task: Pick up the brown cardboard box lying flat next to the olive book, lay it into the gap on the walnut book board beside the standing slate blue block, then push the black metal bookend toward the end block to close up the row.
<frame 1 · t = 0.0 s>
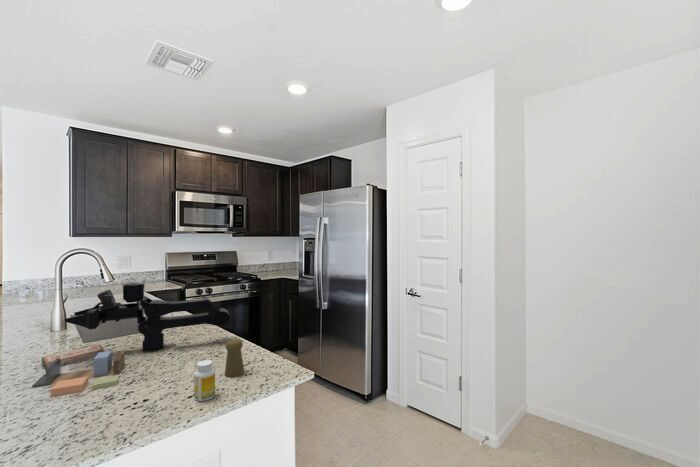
hand: (70, 317, 114), 17 cm above the countertop, tool horizontal, fingers open, 9 cm apart
bookend: (46, 372, 99), point 4 cm above the countertop, slide at 0.0 cm
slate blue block: (103, 371, 105), point 1 cm above the countertop, touching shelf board
supplement bottle: (205, 397, 91), on the countertop
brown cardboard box: (70, 394, 93), on the countertop
olive book: (106, 389, 96), on the countertop
cork: (234, 373, 105), on the countertop
packaged product: (72, 365, 115), on the countertop
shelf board: (81, 378, 103), on the countertop
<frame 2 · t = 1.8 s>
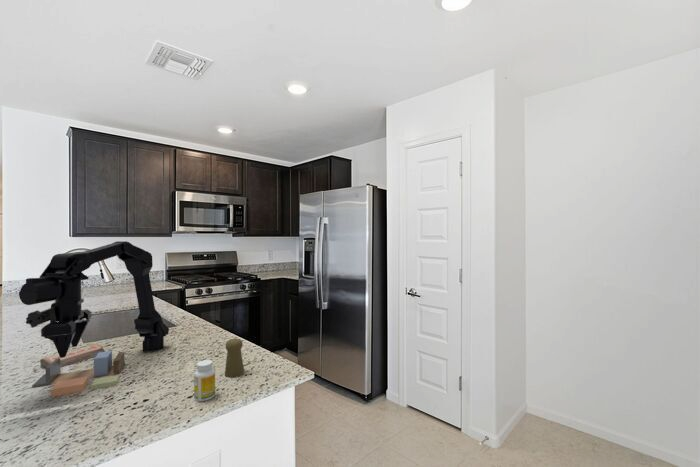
hand: (69, 351, 93), 12 cm above the countertop, tool pointing down, fingers open, 9 cm apart
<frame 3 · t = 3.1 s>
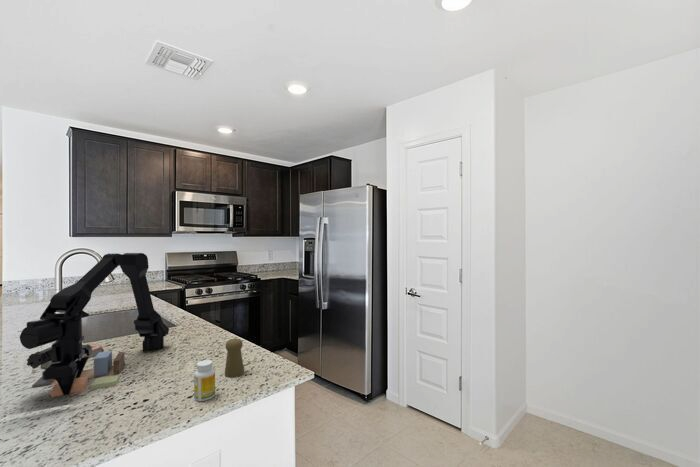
hand: (70, 390, 93), 1 cm above the countertop, tool pointing down, fingers closed on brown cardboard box, 6 cm apart
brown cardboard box: (70, 394, 93), on the countertop, touching gripper
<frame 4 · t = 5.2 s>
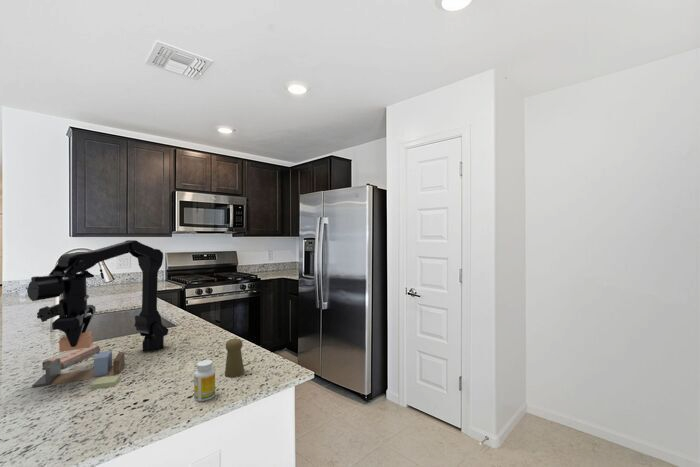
hand: (76, 343, 101), 12 cm above the countertop, tool pointing down, fingers closed on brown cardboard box, 6 cm apart
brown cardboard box: (77, 346, 101), point 11 cm above the countertop, touching gripper
when the fingers open (4 cm above the countertop, at t = 7.3 s): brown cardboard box drops 1 cm, resting on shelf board.
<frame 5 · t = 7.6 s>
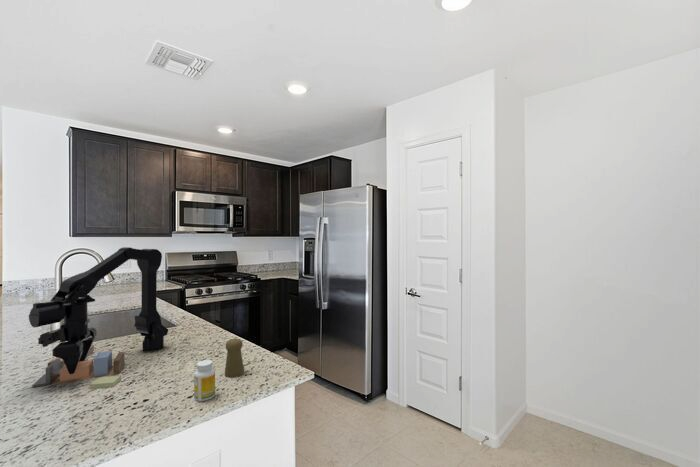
hand: (77, 367, 102), 4 cm above the countertop, tool pointing down, fingers open, 9 cm apart
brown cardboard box: (77, 375, 102), point 1 cm above the countertop, touching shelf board
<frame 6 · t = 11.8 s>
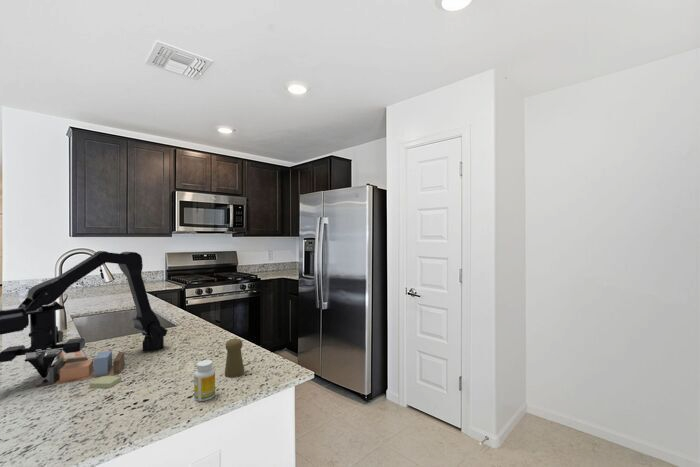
hand: (44, 377, 99), 2 cm above the countertop, tool pointing down, fingers closed
bookend: (50, 371, 99), point 4 cm above the countertop, slide at 0.8 cm, touching gripper
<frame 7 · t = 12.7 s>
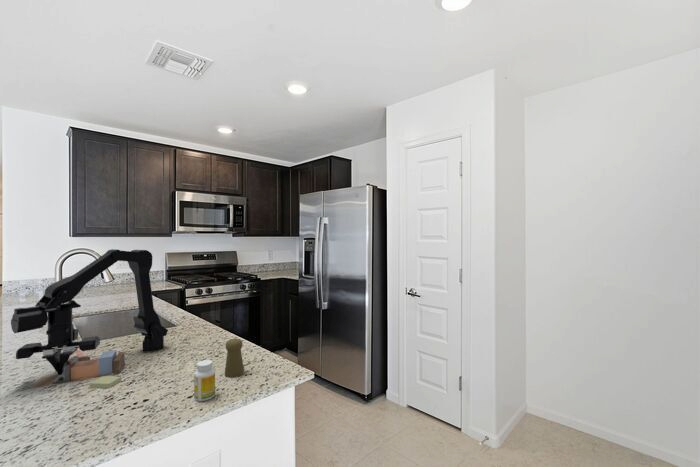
hand: (60, 374, 100), 2 cm above the countertop, tool pointing down, fingers closed
bookend: (65, 369, 101), point 4 cm above the countertop, slide at 4.5 cm, touching gripper, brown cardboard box
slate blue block: (108, 370, 105), point 1 cm above the countertop, touching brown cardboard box, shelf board
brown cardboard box: (87, 374, 103), point 1 cm above the countertop, touching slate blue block, bookend, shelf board
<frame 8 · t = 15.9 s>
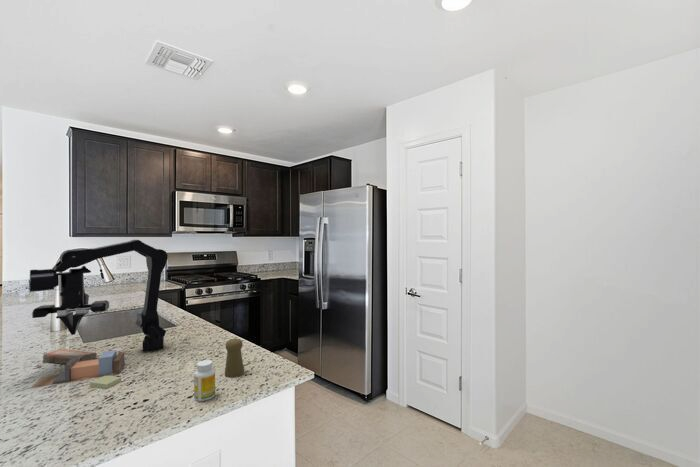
hand: (73, 334, 108), 12 cm above the countertop, tool pointing down, fingers closed
bookend: (65, 369, 101), point 4 cm above the countertop, slide at 4.5 cm, touching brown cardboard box
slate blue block: (108, 370, 105), point 1 cm above the countertop, touching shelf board
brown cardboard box: (87, 374, 103), point 1 cm above the countertop, touching bookend, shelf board
at the end: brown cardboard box 1.3 cm from the target spot, point 1.2 cm above the countertop; bookend slide at 4.5 cm; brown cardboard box 5.3 cm from the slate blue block (horizontally) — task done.
